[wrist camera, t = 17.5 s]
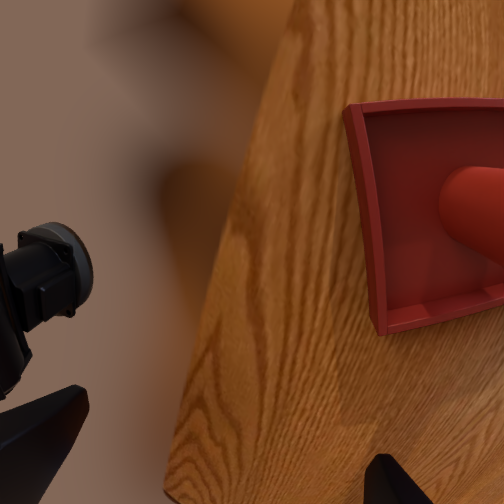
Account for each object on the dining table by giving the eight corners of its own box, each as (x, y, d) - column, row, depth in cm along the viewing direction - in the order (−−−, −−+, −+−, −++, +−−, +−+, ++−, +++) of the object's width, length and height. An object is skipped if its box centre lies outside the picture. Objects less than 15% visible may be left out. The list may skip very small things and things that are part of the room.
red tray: (369, 317, 20) (378, 336, 18) (341, 111, 17) (349, 103, 15) (536, 275, 18) (554, 287, 15) (527, 105, 15) (548, 102, 12)
